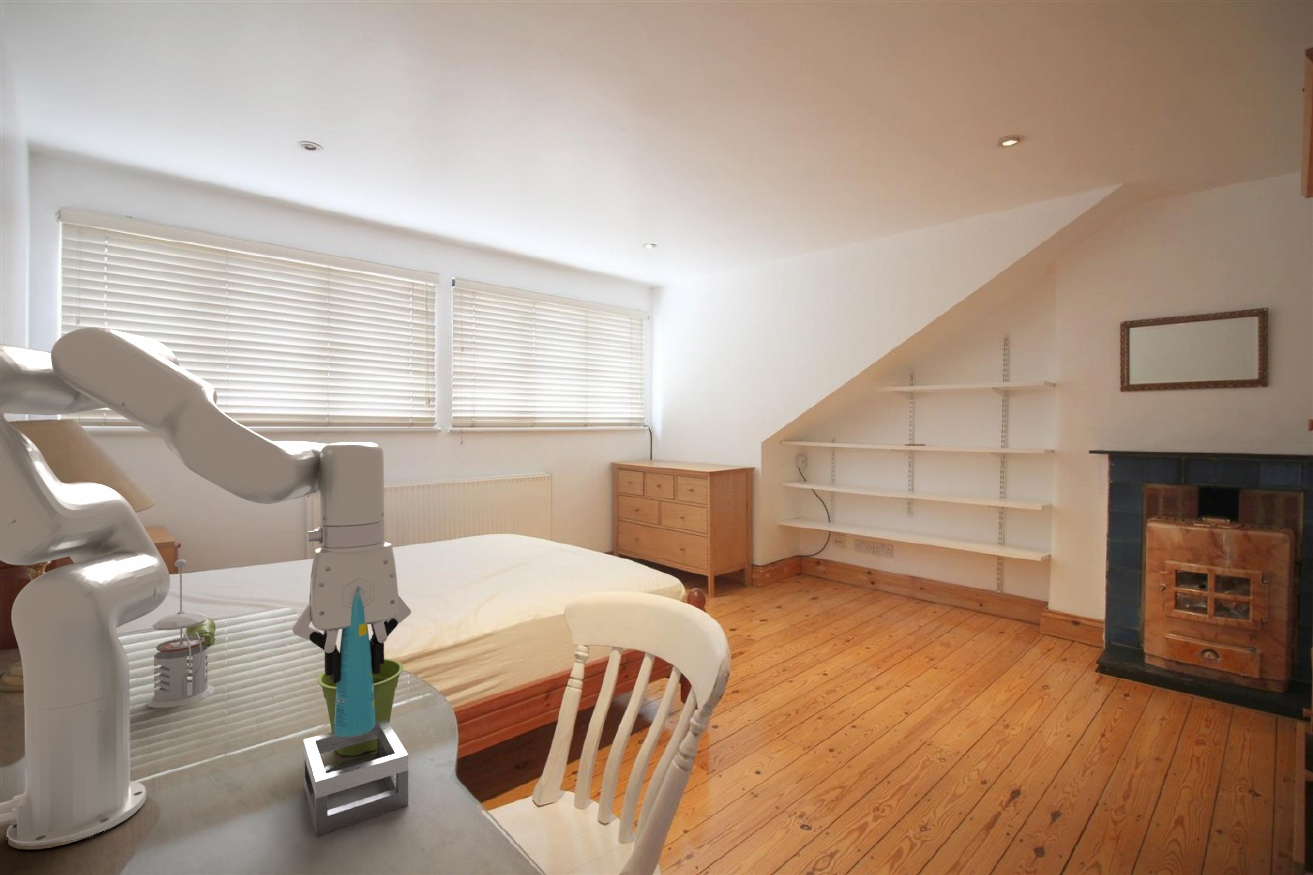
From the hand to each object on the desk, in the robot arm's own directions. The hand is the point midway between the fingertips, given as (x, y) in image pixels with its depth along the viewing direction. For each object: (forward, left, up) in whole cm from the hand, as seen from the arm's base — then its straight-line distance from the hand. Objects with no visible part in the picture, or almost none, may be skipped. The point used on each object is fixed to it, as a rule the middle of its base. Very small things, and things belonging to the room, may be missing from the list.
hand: (355, 673), depth 81 cm
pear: (-17, +87, -17) cm, 90 cm away
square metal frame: (0, 0, -16) cm, 16 cm away
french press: (-20, +52, -16) cm, 58 cm away
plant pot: (+3, +14, -16) cm, 22 cm away
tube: (0, 0, -8) cm, 8 cm away
